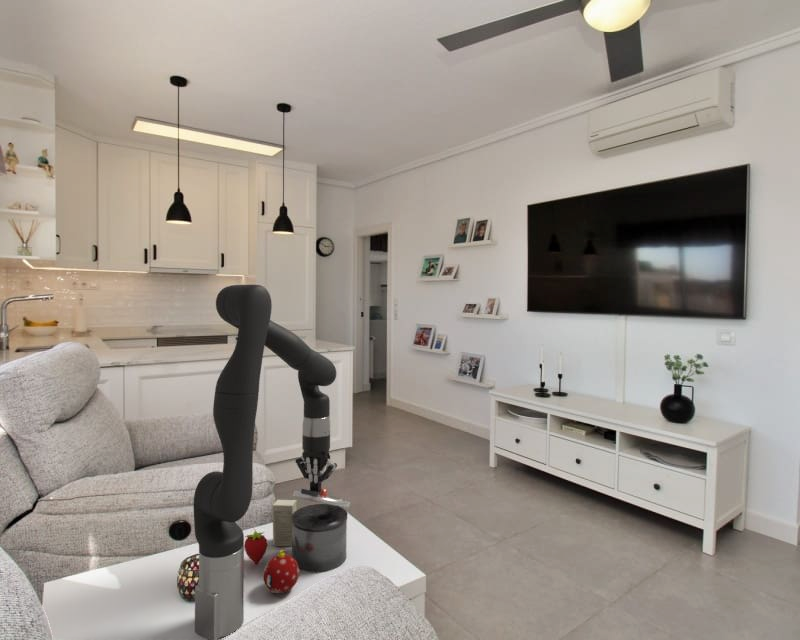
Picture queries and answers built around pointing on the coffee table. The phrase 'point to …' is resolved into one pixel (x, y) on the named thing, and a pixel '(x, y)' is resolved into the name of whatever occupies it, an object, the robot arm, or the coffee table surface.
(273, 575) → the christmas ornament
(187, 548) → the coffee table surface
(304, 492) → the cooker lid
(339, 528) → the cooker pot
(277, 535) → the skincare box
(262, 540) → the strawberry
